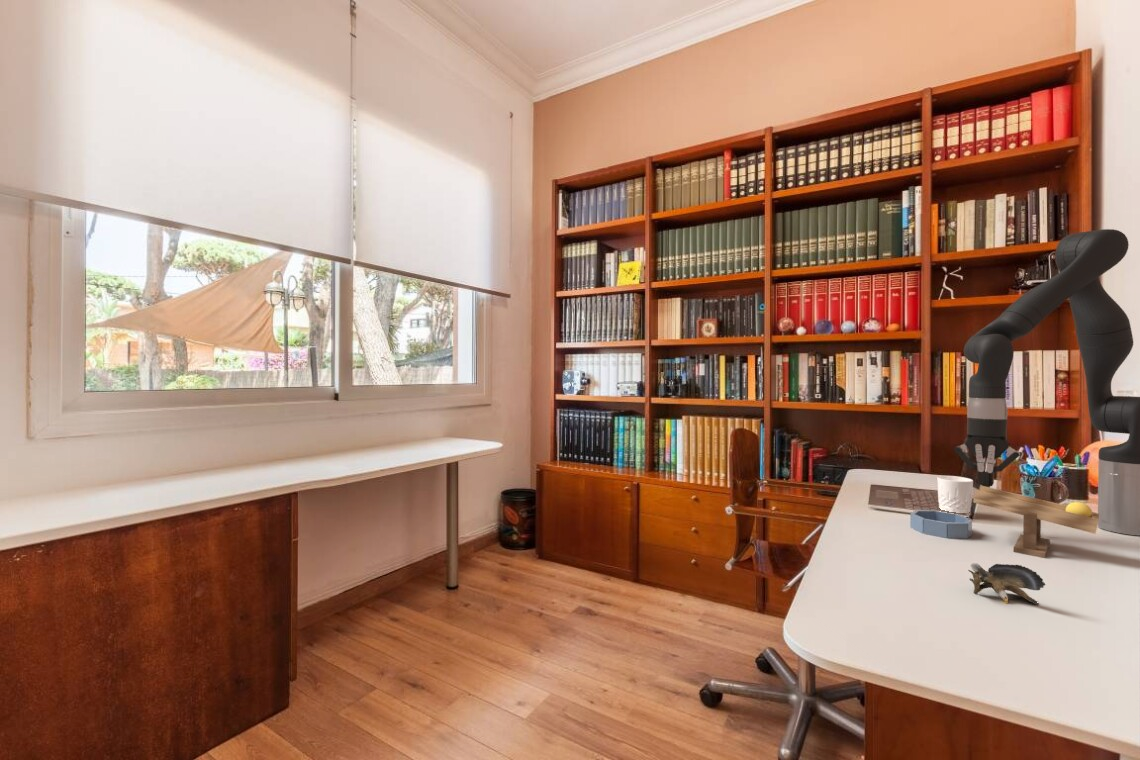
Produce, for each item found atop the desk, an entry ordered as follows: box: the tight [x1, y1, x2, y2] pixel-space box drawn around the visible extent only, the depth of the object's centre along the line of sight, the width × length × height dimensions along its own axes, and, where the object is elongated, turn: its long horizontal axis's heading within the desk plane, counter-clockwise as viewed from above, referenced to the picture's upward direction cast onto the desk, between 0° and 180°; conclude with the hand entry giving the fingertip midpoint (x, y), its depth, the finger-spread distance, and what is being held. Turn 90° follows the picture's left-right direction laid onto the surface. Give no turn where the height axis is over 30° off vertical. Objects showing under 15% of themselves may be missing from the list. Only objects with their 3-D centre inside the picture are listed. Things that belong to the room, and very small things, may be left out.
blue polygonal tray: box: [910, 509, 973, 539], centre depth 126 cm, size 12×12×4 cm
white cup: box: [936, 475, 974, 513], centre depth 140 cm, size 8×8×10 cm
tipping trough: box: [972, 485, 1099, 535], centre depth 115 cm, size 20×13×3 cm, turn 43°
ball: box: [1066, 501, 1093, 517], centre depth 108 cm, size 4×4×4 cm
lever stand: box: [1012, 512, 1051, 559], centre depth 113 cm, size 5×13×9 cm, turn 133°
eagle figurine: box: [967, 562, 1046, 605], centre depth 88 cm, size 8×7×9 cm
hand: (985, 487), depth 124 cm, fingers closed
